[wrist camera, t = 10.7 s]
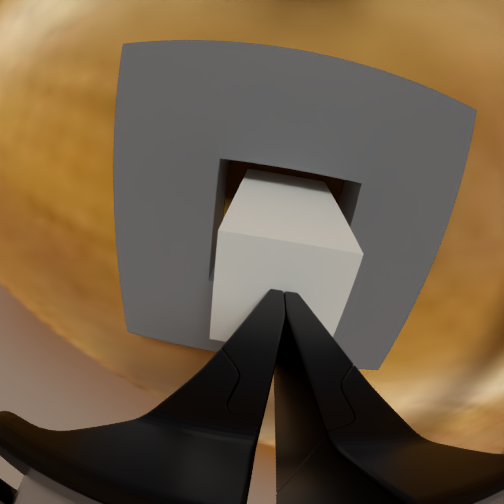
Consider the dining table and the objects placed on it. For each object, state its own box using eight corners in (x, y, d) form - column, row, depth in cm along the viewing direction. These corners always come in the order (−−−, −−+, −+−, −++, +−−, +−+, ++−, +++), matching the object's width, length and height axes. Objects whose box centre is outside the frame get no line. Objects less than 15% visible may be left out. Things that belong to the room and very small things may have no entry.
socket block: (446, 106, 12) (476, 110, 9) (369, 338, 19) (378, 370, 17) (149, 52, 12) (123, 43, 10) (144, 304, 20) (127, 332, 17)
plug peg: (324, 182, 15) (363, 254, 8) (309, 250, 17) (325, 355, 10) (248, 168, 15) (218, 229, 8) (238, 238, 17) (209, 338, 10)
